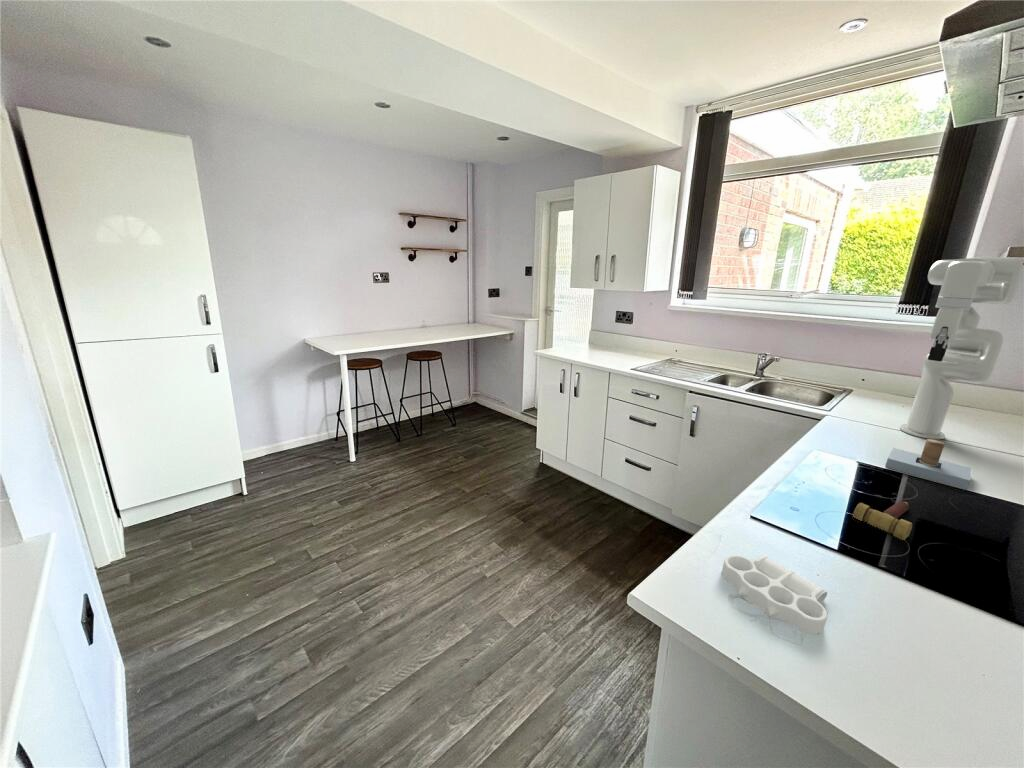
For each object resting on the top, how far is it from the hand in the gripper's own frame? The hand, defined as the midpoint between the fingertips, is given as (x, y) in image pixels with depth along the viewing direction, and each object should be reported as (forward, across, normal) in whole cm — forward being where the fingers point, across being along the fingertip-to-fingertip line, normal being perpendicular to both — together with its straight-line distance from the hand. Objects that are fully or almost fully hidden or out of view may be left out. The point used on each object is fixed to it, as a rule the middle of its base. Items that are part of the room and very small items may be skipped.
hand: (935, 358), depth 134 cm
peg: (+33, +12, +6) cm, 36 cm away
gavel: (+34, +53, +2) cm, 63 cm away
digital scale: (+33, +12, +6) cm, 36 cm away
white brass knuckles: (+34, +105, -9) cm, 111 cm away
